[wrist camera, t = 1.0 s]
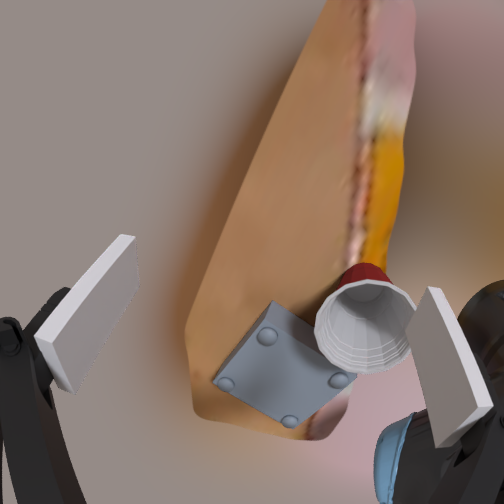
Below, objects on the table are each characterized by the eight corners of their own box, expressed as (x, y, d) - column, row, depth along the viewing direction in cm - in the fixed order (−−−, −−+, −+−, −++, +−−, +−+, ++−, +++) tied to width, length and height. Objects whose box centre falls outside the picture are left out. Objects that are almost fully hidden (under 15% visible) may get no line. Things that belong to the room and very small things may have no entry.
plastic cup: (359, 224, 38) (366, 259, 27) (418, 277, 38) (441, 326, 27) (304, 285, 43) (290, 336, 32) (363, 331, 43) (366, 390, 32)
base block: (356, 355, 44) (357, 381, 39) (297, 407, 50) (292, 432, 45) (272, 300, 44) (263, 322, 39) (222, 363, 51) (210, 386, 45)
